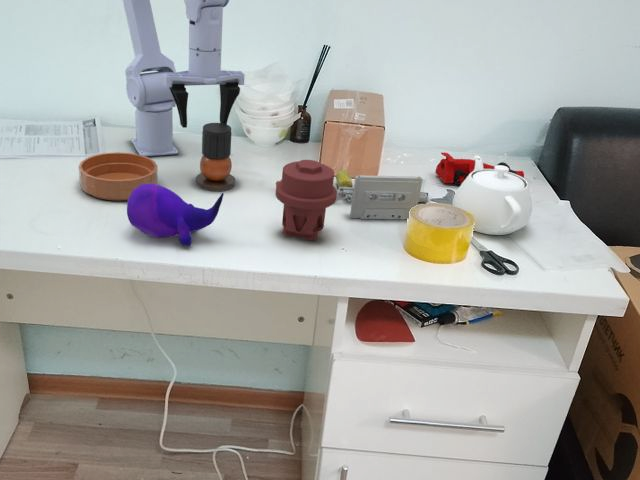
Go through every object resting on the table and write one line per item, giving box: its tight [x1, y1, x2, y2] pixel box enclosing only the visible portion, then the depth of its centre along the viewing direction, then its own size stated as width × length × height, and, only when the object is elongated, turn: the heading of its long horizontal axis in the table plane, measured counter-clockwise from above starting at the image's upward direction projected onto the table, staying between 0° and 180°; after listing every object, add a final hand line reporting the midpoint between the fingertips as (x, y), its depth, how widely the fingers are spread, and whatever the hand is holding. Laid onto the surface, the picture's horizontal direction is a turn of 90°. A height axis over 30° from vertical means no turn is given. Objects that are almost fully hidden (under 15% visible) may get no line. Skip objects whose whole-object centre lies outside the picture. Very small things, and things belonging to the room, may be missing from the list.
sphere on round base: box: [194, 154, 236, 192], centre depth 136 cm, size 8×8×7 cm
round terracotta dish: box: [78, 151, 159, 202], centre depth 132 cm, size 14×14×4 cm
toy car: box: [434, 152, 525, 187], centre depth 146 cm, size 6×18×5 cm, turn 99°
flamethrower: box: [275, 169, 429, 203], centre depth 137 cm, size 29×3×10 cm
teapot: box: [451, 155, 533, 236], centre depth 127 cm, size 22×14×11 cm, turn 5°
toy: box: [126, 184, 225, 247], centre depth 116 cm, size 9×10×15 cm
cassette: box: [349, 174, 424, 220], centre depth 127 cm, size 12×2×8 cm, turn 96°
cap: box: [201, 122, 233, 159], centre depth 133 cm, size 5×5×5 cm
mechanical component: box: [275, 159, 338, 242], centre depth 118 cm, size 12×10×10 cm
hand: (203, 124), depth 134 cm, fingers open, 7 cm apart
